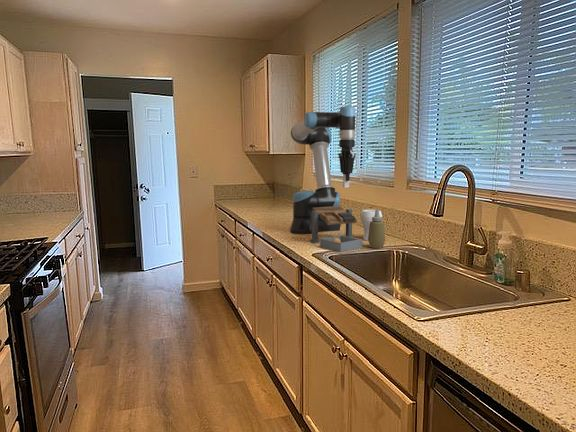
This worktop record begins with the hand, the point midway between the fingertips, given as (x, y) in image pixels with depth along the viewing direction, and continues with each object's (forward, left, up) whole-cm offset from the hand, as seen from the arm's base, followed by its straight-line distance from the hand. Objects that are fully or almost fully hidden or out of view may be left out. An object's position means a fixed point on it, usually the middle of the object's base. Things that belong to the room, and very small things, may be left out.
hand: (346, 187), depth 208 cm
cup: (+5, +13, -28) cm, 31 cm away
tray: (+9, -12, -27) cm, 31 cm away
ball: (+9, -15, -24) cm, 30 cm away
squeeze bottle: (+19, +1, -28) cm, 34 cm away
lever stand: (-6, -4, -27) cm, 28 cm away
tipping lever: (-8, -3, -25) cm, 27 cm away
